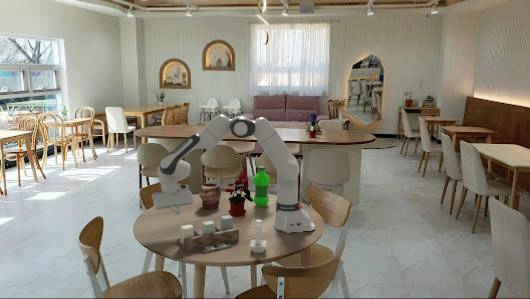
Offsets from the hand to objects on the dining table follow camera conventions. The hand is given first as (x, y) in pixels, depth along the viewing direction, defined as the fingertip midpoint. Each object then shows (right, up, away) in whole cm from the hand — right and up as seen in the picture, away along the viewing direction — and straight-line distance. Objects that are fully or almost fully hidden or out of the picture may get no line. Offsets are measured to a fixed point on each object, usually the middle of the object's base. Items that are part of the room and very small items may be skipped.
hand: (177, 214), depth 201 cm
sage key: (+17, -11, -5) cm, 21 cm away
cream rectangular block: (+7, -12, -10) cm, 17 cm away
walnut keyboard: (+18, -13, -6) cm, 23 cm away
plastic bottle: (+42, -3, +50) cm, 65 cm away
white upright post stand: (+41, -15, -13) cm, 46 cm away
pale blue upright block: (+25, -10, +3) cm, 27 cm away
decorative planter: (+11, -3, +47) cm, 49 cm away
